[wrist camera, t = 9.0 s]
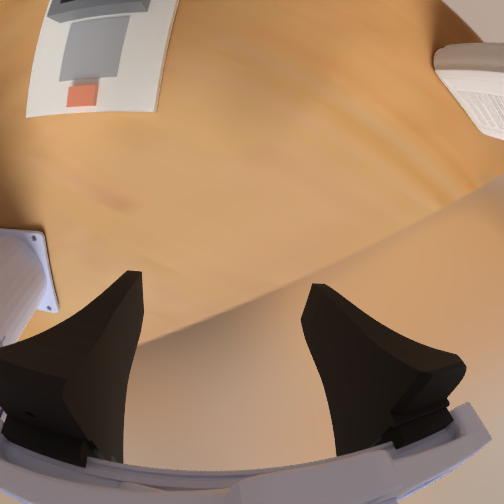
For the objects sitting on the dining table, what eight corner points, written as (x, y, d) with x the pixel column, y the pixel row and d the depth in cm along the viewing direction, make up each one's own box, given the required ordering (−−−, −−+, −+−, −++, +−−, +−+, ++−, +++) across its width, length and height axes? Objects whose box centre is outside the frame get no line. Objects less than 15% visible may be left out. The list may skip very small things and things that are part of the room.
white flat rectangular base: (32, 116, 14) (10, 120, 11) (81, -56, 7) (69, -71, 4) (156, 112, 16) (146, 111, 13) (203, -70, 9) (203, -90, 6)
